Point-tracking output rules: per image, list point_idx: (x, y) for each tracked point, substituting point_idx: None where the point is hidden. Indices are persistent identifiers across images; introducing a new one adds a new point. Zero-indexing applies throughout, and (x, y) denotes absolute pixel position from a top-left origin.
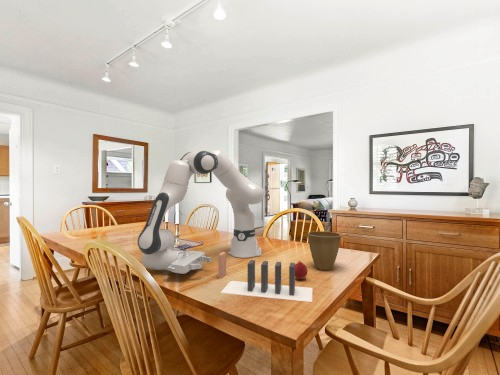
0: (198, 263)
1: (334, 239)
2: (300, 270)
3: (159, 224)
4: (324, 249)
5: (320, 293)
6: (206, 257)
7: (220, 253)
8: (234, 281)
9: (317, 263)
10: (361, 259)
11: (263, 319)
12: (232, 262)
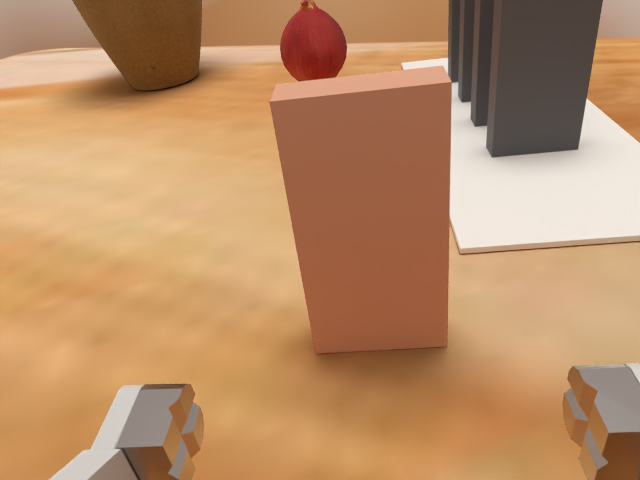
0: (608, 430)
1: None
2: (342, 32)
3: None
4: None
5: (435, 54)
6: (113, 458)
7: (366, 89)
8: (464, 227)
9: (183, 55)
10: (82, 55)
11: None
12: None
